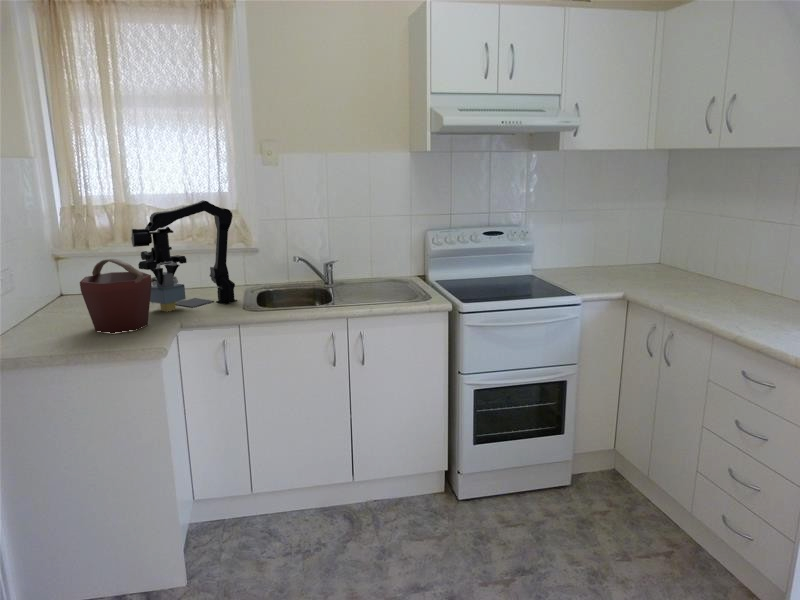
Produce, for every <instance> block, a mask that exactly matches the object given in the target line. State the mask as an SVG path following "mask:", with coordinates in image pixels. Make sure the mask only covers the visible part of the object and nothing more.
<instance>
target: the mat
mask: <svg viewBox="0 0 800 600" xmlns="http://www.w3.org/2000/svg"><path fill="white" fill-rule="evenodd" d="M214 301H215V300H211V299H205V298H198V297H193V298H189V299H184V300H180V301H176V302H175V306H178V305H179V307H185V308H190V307H191V309H194V308H197V306H198V307H201V306H205V305H207V303H208V304H211V302H212V303H215V302H214ZM204 304H205V305H204ZM193 307H194V308H193Z"/></svg>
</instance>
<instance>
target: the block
mask: <svg viewBox="0 0 800 600" xmlns="http://www.w3.org/2000/svg"><path fill="white" fill-rule="evenodd" d="M175 303H176V302H172V303H168V304H161V303H159V304H160V306H159V307H160V311H161V312H168V311H169V312H173V311H176V310H177V307H176V306H177V305H175ZM175 309H176V310H175ZM172 310H173V311H172ZM169 312H168V313H169Z"/></svg>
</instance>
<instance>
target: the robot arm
mask: <svg viewBox="0 0 800 600" xmlns="http://www.w3.org/2000/svg"><path fill="white" fill-rule="evenodd" d="M202 212H206V213H208V214H209V215H212V216H213V217H214V223H215V227H216V240H215V241H216V243H215V245H216V246H215V263H214V266H210V267H209V270H210V273H209V277H210V278H211V279H210V280H211V281H212V282H213V283H214V284H215V285H216V286H217V292H216V293H217V300H216V301H215V303H218V304H224V305H225V304H226V305H228V304H231V303H235V302H237V301H238V299H235V287H236V284H235V282H234V281H232V280H231V279H230V275H229V270H228V266H227V257H228V237H229V229H230V227H231V225H232V221H233V212H232V211H231V210H230V209H228V208H224V207H219V206H216V205H215V204H212V203H211V202H209V201H208V200H200V201H198V202H195V203H192V204H188V205H186V206H182V207H179V208H176V209H173V210H164V211H163V210H162V211H157V212H153V213H151V215H150V217H149V222H148V224H147V225H146V227H145V228H132V229H131V237H130V240H131V244H132V247H133V248H137V247H148V246H150V244H152V243H153V245H152V247H151V248H150V249H151V250H150V252H149V251H147V250H144V251H141V252H140V257H141V258H140V259H141V260H142V261H139V263H138V269H139V270H147V271H149V270H150V271H151V272H152V273H153V275H154V277H156V278H157V280H158V282H159V284H160V285H162V282H163V272H164V268H163V267H161V266H163V265H164V267H165V269H166V272H168V273H173V276H175V274H176V272H177V269H178V268H179V267H180V264H183V265H184V264H187V263H188V261H187V258H186V257H185V255H179V254H178V255H176V254H175V255H171V250H173V249H172V246H170V239H169V234H171V233H174V230H173V229H171V228H170V227H169V225H171V224H173V223H174V222H176V221H178V220H181V219H185V218H186V217H187V218H188V217H190V216H194V215H196V214H198V213H202ZM178 263H179V264H178Z"/></svg>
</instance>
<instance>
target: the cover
mask: <svg viewBox="0 0 800 600" xmlns="http://www.w3.org/2000/svg"><path fill="white" fill-rule="evenodd" d="M156 280H157V278H156ZM185 288H186V287H185V284H184V283H182V284H181V283H177V284H176V283H174V281H173V273H168V272H167V271H163V282H162V285H160V284H159V282H158V280H157V285H152V286H151V296H150V303H156V304H160V303H161V304H168V303H172V302H175V303H177V302H181V301H185V300H187V299H186V289H185Z"/></svg>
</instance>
